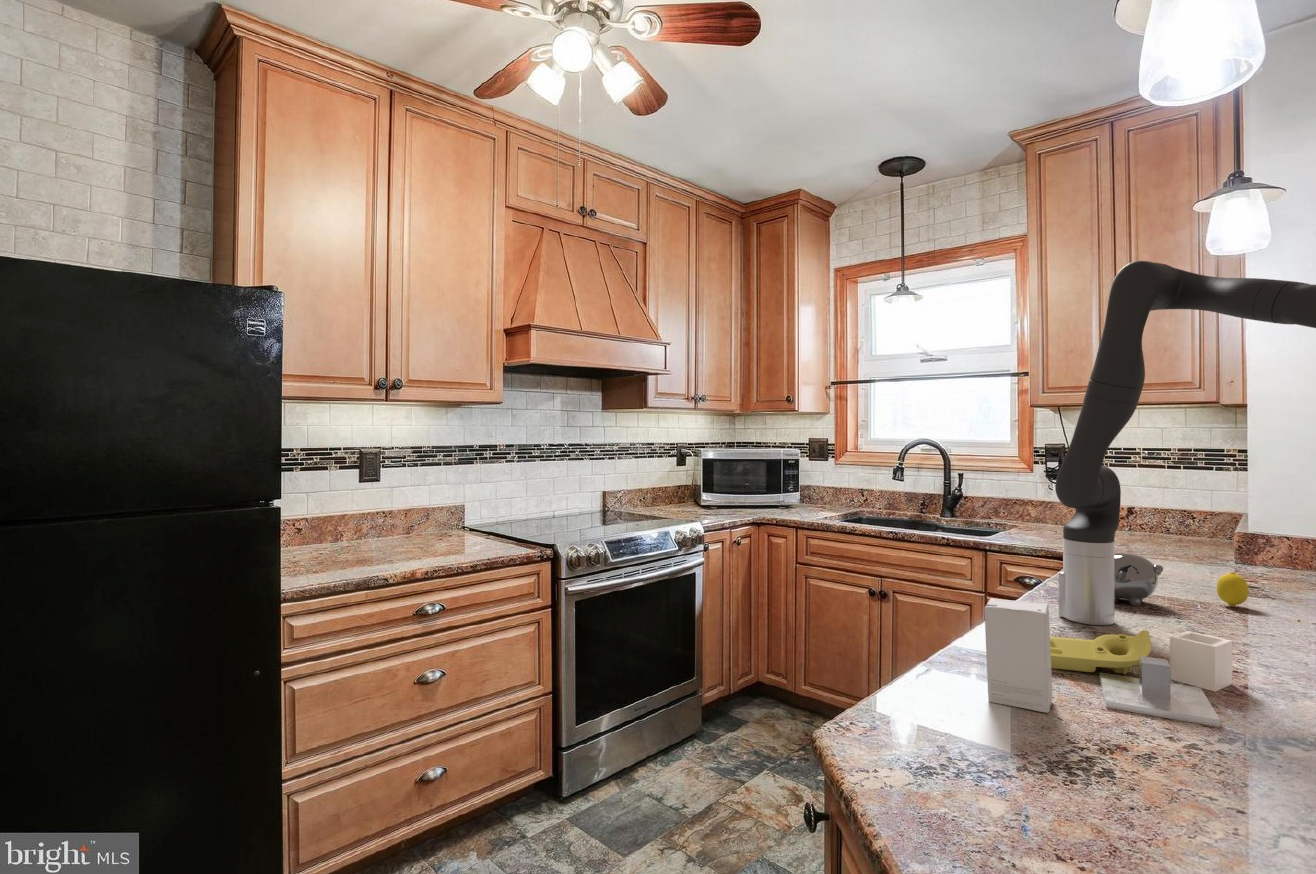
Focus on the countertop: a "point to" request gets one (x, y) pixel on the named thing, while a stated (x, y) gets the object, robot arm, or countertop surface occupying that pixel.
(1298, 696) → the countertop surface
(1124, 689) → the duct stub
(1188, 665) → the square tube sleeve
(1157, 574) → the piggy bank
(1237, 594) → the lemon
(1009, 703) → the skincare box
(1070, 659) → the plastic component
